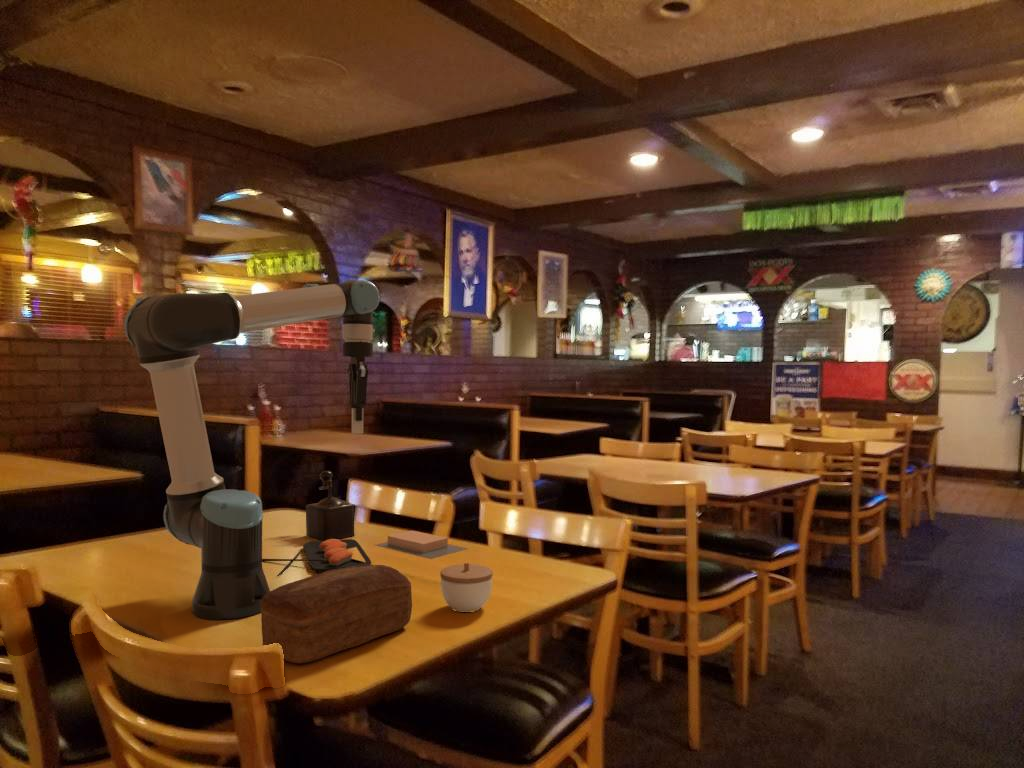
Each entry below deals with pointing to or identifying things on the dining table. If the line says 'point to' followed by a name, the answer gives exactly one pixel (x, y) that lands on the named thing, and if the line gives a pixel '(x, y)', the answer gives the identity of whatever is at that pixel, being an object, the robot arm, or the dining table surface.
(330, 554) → the sushi plate
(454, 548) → the board
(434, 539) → the tile
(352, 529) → the pepper mill
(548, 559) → the dining table surface
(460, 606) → the lidded jar
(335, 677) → the dining table surface
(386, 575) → the bread
